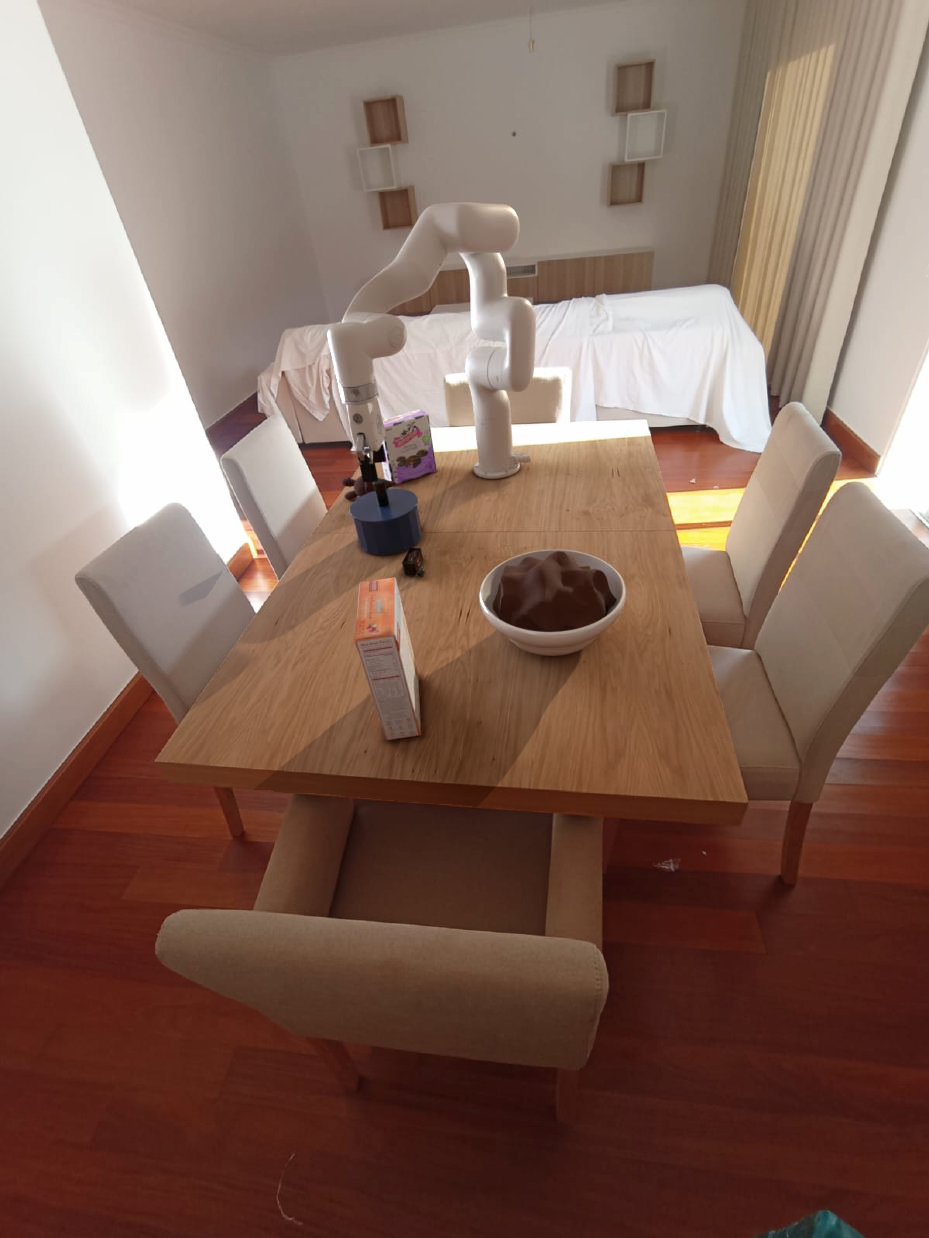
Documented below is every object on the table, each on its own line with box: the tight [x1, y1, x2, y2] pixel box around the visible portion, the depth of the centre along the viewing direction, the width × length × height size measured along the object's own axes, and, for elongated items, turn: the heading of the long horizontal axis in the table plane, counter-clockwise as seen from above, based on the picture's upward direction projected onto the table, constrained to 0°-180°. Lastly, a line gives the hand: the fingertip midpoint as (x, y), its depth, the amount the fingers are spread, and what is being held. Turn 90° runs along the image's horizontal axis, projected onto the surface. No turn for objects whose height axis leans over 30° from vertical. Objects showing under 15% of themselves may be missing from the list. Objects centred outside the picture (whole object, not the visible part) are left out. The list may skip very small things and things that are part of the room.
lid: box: [348, 478, 419, 524], centre depth 134 cm, size 16×16×7 cm
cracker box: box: [354, 576, 422, 741], centre depth 91 cm, size 14×6×21 cm, turn 5°
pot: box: [353, 506, 423, 557], centre depth 138 cm, size 15×15×8 cm
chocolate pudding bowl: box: [478, 549, 627, 657], centre depth 104 cm, size 25×25×15 cm
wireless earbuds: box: [401, 547, 425, 578], centre depth 128 cm, size 5×7×3 cm, turn 167°
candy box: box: [381, 408, 437, 486], centre depth 162 cm, size 14×6×16 cm, turn 119°
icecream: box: [340, 475, 397, 501], centre depth 157 cm, size 7×7×15 cm
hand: (375, 471), depth 130 cm, fingers open, 9 cm apart
